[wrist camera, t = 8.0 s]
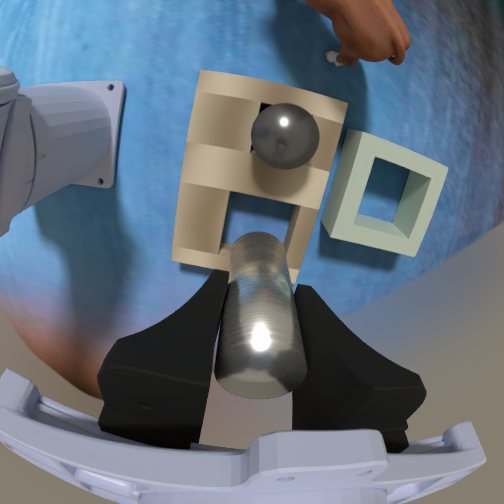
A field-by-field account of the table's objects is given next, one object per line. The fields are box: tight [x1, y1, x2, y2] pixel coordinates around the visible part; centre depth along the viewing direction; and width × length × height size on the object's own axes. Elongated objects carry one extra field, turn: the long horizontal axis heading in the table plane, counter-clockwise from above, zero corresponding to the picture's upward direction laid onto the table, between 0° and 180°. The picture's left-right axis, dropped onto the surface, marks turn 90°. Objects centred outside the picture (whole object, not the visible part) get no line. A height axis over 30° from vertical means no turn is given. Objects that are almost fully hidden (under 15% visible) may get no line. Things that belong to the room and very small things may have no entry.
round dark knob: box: [251, 103, 320, 170], centre depth 16 cm, size 4×4×4 cm
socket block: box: [171, 70, 348, 284], centre depth 19 cm, size 9×13×2 cm
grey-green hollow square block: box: [321, 128, 448, 257], centre depth 18 cm, size 7×7×3 cm
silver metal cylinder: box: [214, 232, 307, 399], centre depth 12 cm, size 3×3×8 cm
